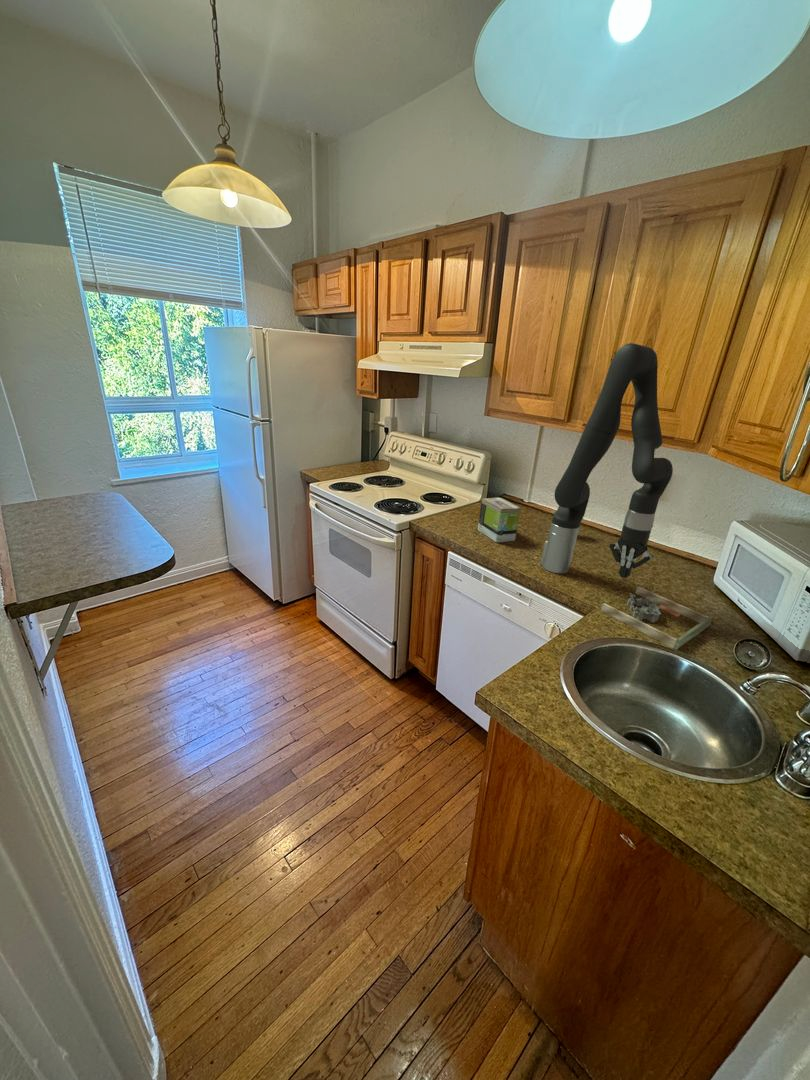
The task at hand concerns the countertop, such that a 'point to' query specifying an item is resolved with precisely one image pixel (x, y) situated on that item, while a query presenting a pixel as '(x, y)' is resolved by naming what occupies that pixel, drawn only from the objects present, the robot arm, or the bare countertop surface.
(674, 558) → the countertop surface
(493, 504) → the tea box
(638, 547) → the robot arm
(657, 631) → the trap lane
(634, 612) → the egg carton
